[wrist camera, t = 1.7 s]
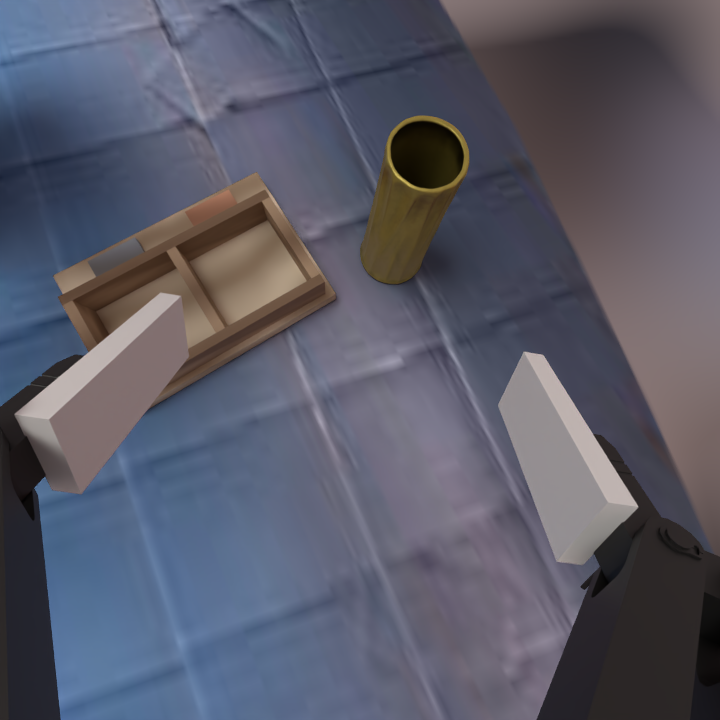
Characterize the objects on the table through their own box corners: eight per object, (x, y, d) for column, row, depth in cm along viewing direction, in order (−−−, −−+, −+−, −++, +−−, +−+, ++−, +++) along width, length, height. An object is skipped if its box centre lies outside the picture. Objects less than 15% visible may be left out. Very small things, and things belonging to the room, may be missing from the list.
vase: (372, 293, 36) (399, 211, 22) (350, 236, 37) (363, 121, 23) (430, 273, 37) (492, 183, 23) (408, 218, 37) (455, 97, 23)
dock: (64, 282, 34) (25, 261, 29) (259, 181, 37) (250, 149, 32) (139, 414, 33) (109, 413, 28) (335, 299, 36) (336, 281, 31)
